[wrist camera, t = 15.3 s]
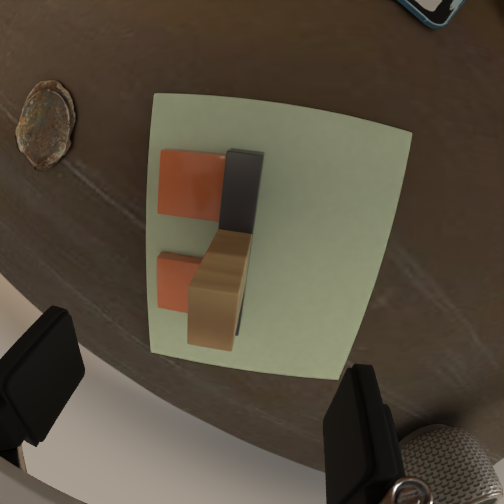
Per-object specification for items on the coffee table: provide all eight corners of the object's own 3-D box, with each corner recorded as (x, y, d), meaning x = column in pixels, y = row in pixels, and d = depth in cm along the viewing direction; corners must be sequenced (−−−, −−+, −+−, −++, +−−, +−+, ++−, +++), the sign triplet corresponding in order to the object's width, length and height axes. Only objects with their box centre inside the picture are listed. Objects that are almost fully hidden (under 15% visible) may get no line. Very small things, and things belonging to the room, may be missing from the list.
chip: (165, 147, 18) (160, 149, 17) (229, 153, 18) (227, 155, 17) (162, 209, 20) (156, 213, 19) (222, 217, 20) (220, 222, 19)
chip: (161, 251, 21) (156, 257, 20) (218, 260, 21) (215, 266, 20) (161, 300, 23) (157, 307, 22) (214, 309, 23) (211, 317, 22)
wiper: (231, 147, 18) (195, 168, 10) (264, 152, 18) (254, 176, 10) (213, 317, 23) (187, 405, 15) (240, 321, 23) (224, 412, 15)
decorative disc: (94, 114, 18) (86, 114, 17) (53, 182, 20) (45, 185, 19) (45, 67, 16) (37, 66, 15) (10, 133, 18) (2, 135, 18)
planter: (406, 472, 33) (420, 544, 21) (345, 455, 30) (354, 549, 19) (485, 419, 28) (516, 493, 16) (442, 389, 25) (482, 492, 14)
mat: (156, 93, 17) (153, 93, 17) (410, 132, 17) (412, 132, 17) (152, 349, 25) (150, 352, 25) (337, 376, 25) (338, 380, 25)
